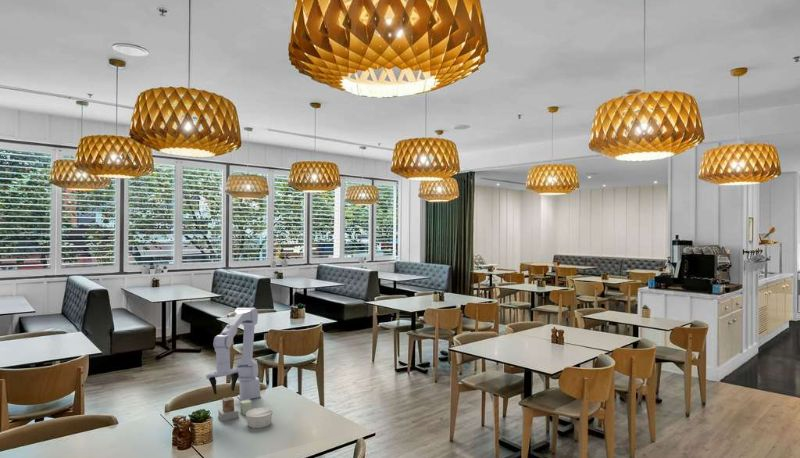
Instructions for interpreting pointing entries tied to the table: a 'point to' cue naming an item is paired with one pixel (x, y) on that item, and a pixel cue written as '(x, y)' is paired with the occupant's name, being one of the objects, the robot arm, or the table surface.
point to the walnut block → (228, 404)
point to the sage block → (245, 406)
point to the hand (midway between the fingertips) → (224, 392)
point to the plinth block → (228, 414)
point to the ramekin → (259, 417)
